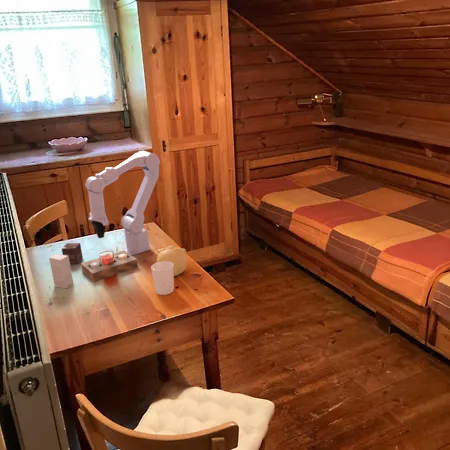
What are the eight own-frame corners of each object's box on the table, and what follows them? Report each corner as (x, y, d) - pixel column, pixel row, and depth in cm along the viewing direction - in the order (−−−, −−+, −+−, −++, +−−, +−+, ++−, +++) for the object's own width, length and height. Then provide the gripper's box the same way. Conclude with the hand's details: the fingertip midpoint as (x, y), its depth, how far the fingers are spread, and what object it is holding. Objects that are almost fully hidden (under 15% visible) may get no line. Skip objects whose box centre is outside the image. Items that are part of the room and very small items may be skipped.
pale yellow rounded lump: (189, 266, 200) (187, 241, 197) (183, 279, 189) (181, 253, 185) (162, 265, 202) (159, 241, 198) (154, 279, 191) (151, 253, 187)
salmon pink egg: (111, 263, 203) (110, 254, 202) (115, 265, 200) (114, 257, 199) (103, 265, 201) (102, 257, 200) (107, 268, 198) (106, 259, 197)
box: (83, 258, 213) (80, 242, 210) (78, 264, 207) (75, 248, 205) (69, 258, 213) (66, 242, 211) (64, 264, 208) (61, 248, 205)
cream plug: (125, 261, 207) (124, 253, 205) (129, 264, 204) (128, 255, 203) (117, 264, 205) (116, 255, 203) (121, 266, 202) (120, 258, 201)
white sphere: (98, 270, 200) (97, 261, 199) (102, 273, 197) (100, 264, 196) (90, 272, 198) (88, 264, 197) (93, 275, 196) (92, 266, 194)
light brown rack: (125, 257, 211) (124, 250, 210) (138, 266, 202) (137, 259, 201) (82, 271, 201) (80, 263, 199) (93, 281, 192) (92, 273, 190)
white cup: (158, 297, 177) (155, 272, 173) (150, 289, 183) (148, 264, 180) (178, 292, 180) (176, 267, 177) (170, 283, 187) (168, 259, 183)
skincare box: (74, 284, 190) (69, 255, 186) (66, 289, 187) (61, 260, 183) (61, 281, 193) (56, 253, 189) (54, 286, 189) (48, 257, 185)
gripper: (81, 204, 205) (85, 234, 209) (95, 212, 194) (99, 244, 198) (97, 200, 209) (100, 231, 213) (111, 208, 198) (115, 240, 202)
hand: (101, 237), depth 206 cm, fingers closed
